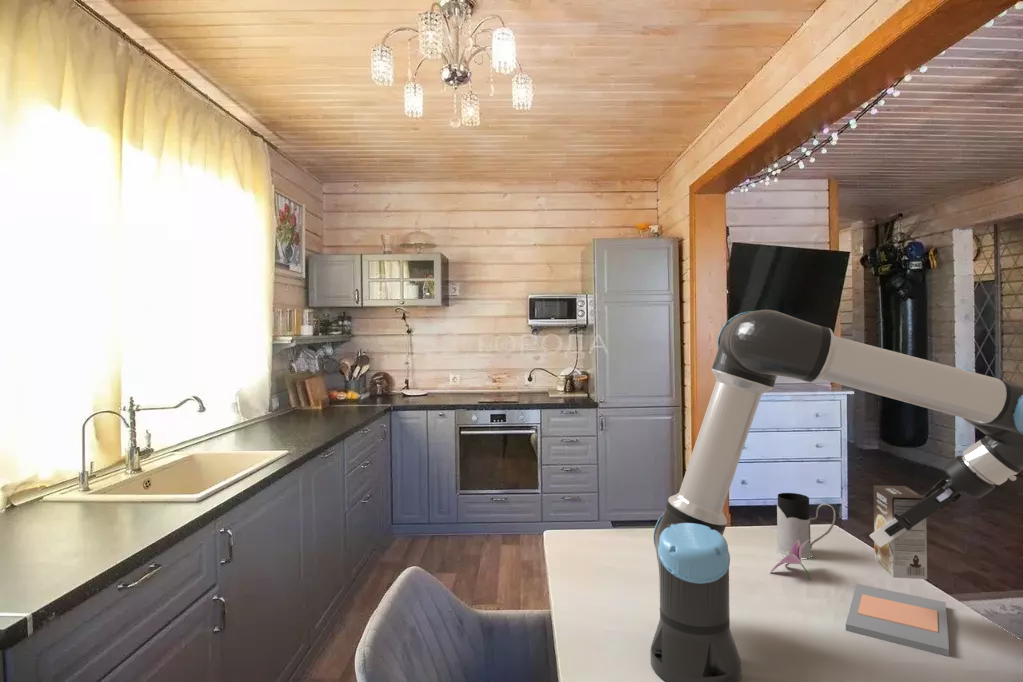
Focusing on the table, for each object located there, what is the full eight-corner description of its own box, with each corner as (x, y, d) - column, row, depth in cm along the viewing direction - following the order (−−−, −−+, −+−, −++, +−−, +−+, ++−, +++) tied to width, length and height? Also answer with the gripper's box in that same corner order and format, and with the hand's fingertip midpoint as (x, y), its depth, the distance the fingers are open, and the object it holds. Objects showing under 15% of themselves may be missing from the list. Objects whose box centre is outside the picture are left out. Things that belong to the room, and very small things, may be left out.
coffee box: (873, 560, 120) (871, 484, 120) (906, 561, 118) (905, 485, 118) (893, 578, 111) (891, 496, 111) (929, 580, 110) (928, 497, 109)
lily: (812, 570, 141) (791, 533, 144) (842, 570, 131) (818, 529, 134) (773, 590, 139) (753, 552, 142) (800, 591, 128) (777, 550, 131)
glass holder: (774, 545, 156) (773, 491, 155) (832, 551, 151) (831, 495, 151) (777, 557, 147) (776, 499, 147) (839, 563, 143) (838, 504, 142)
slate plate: (949, 656, 101) (948, 648, 101) (845, 630, 111) (845, 623, 111) (945, 607, 119) (945, 601, 119) (856, 588, 128) (856, 582, 128)
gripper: (988, 500, 95) (882, 566, 107) (1005, 475, 111) (911, 535, 123) (948, 464, 99) (850, 532, 111) (970, 444, 115) (882, 506, 127)
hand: (882, 533), depth 117 cm, fingers closed on coffee box, 11 cm apart
